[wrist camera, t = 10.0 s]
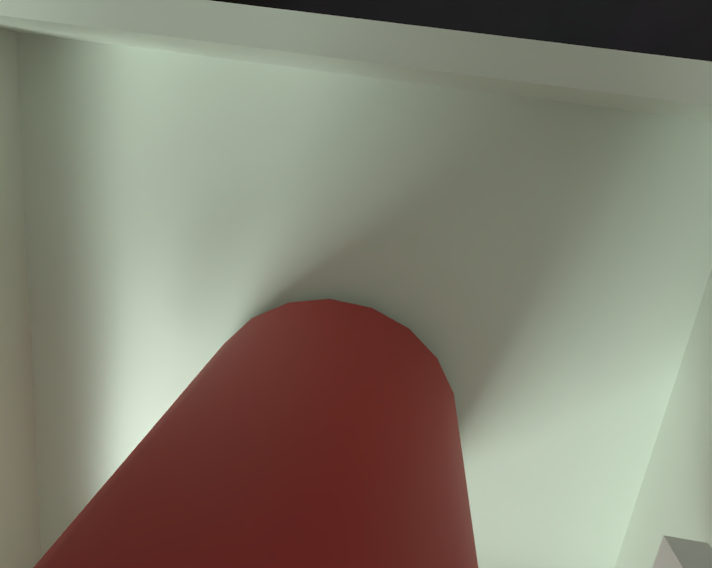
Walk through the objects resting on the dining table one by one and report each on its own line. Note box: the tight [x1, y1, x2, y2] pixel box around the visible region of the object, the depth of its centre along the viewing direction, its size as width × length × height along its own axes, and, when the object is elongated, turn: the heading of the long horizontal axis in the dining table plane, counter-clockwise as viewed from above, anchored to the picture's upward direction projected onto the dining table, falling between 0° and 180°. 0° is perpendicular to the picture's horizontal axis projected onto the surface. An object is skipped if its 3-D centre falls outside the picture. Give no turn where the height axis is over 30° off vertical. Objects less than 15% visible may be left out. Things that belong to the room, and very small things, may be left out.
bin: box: [0, 0, 712, 568], centre depth 13 cm, size 18×18×5 cm
